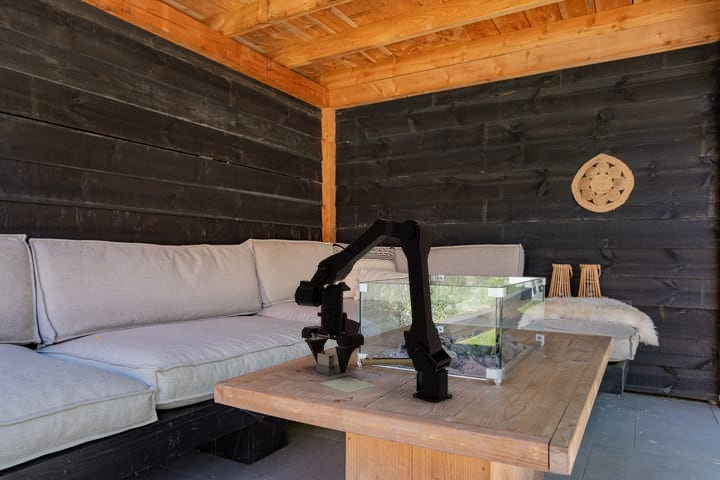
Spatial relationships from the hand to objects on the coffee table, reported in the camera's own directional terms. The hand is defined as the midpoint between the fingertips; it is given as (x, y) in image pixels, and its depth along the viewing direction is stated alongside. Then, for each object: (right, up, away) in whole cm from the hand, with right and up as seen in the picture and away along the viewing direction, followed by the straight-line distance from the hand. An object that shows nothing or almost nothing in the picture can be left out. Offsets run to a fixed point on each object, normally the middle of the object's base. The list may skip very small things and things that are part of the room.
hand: (331, 369), depth 122 cm
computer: (+15, -4, +13) cm, 20 cm away
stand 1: (0, -2, 0) cm, 2 cm away
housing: (0, -1, 0) cm, 1 cm away
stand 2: (+5, -2, -11) cm, 12 cm away
